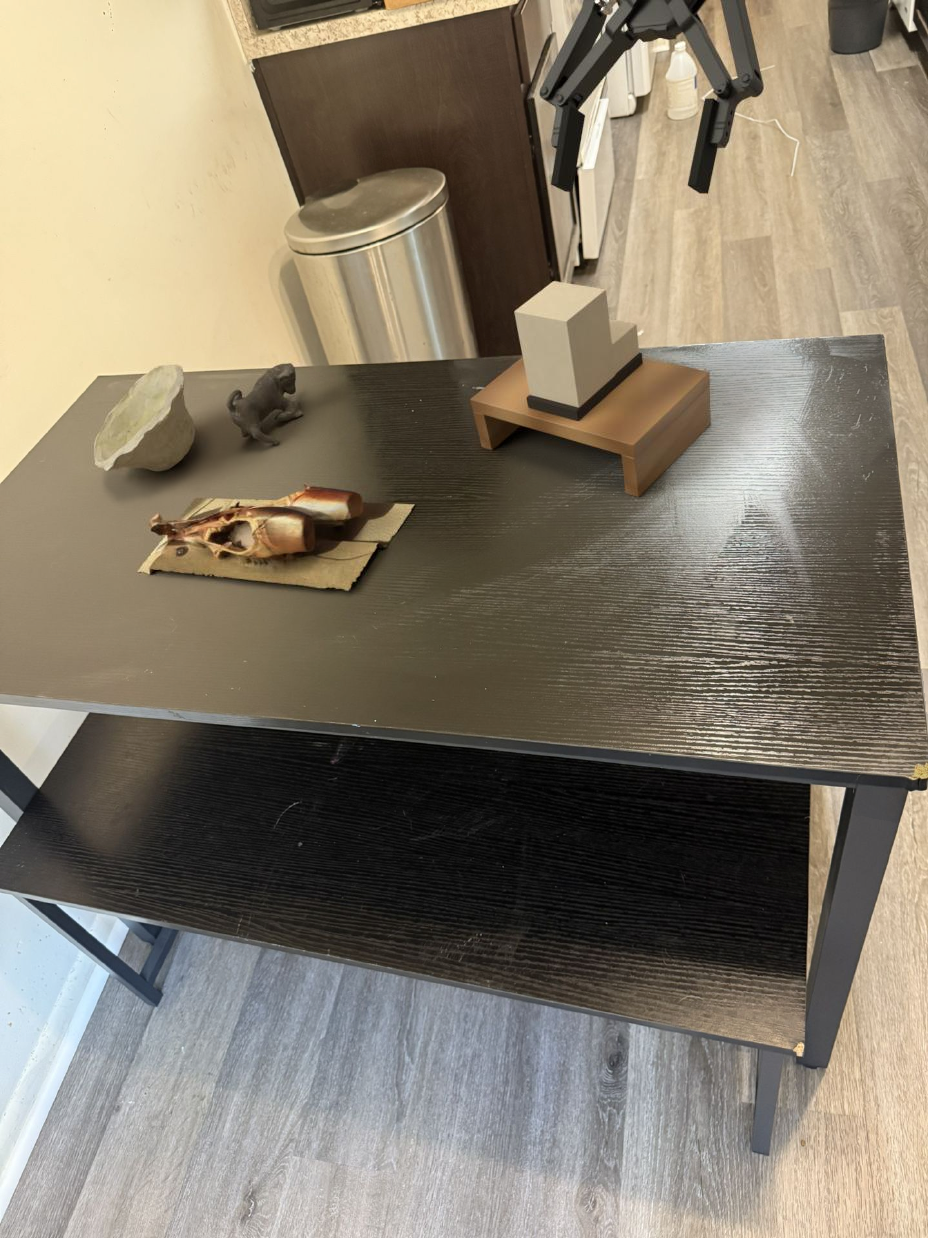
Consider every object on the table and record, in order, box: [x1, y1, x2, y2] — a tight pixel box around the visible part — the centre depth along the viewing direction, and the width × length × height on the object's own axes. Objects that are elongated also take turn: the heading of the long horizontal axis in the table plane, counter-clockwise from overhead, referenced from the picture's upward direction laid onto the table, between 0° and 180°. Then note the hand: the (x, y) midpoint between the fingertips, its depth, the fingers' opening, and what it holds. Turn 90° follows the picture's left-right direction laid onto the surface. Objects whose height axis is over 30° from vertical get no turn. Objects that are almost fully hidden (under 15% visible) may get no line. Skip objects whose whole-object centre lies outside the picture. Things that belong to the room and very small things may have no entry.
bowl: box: [93, 364, 196, 472], centre depth 103 cm, size 15×14×10 cm
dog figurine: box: [226, 362, 304, 446], centre depth 104 cm, size 12×6×7 cm, turn 152°
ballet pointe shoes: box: [136, 483, 415, 592], centre depth 87 cm, size 14×7×28 cm
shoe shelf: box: [469, 356, 712, 498], centre depth 88 cm, size 20×13×6 cm, turn 48°
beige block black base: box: [514, 280, 643, 421], centre depth 83 cm, size 11×6×10 cm, turn 138°
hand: (626, 189), depth 77 cm, fingers open, 13 cm apart
